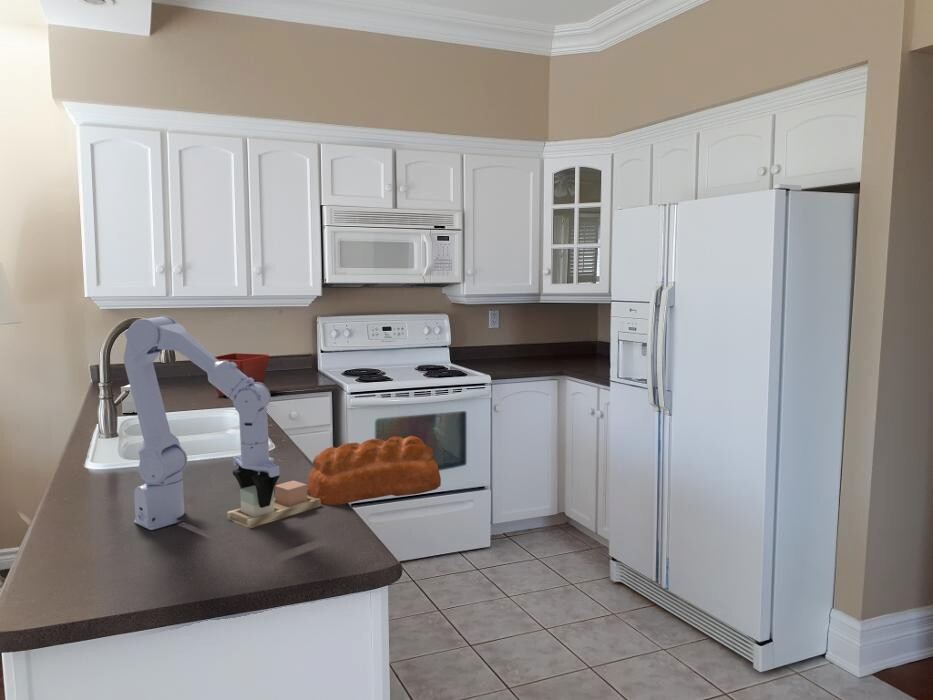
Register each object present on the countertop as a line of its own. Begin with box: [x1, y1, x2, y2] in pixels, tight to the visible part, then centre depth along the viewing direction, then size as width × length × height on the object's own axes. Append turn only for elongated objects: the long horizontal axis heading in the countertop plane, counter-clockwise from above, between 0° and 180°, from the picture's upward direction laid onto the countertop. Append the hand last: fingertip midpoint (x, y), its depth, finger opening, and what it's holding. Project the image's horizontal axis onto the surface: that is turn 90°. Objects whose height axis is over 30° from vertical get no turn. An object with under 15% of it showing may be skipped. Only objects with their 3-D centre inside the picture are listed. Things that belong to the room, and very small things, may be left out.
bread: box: [307, 435, 442, 506], centre depth 175 cm, size 16×31×13 cm, turn 120°
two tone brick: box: [239, 485, 275, 517], centre depth 155 cm, size 5×5×5 cm
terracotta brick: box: [274, 479, 308, 507], centre depth 162 cm, size 5×5×5 cm
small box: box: [120, 383, 137, 414], centre depth 278 cm, size 8×6×10 cm
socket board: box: [226, 495, 322, 529], centre depth 159 cm, size 18×9×3 cm, turn 139°
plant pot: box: [213, 352, 270, 398], centre depth 313 cm, size 19×19×17 cm
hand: (257, 503), depth 155 cm, fingers closed on two tone brick, 5 cm apart
